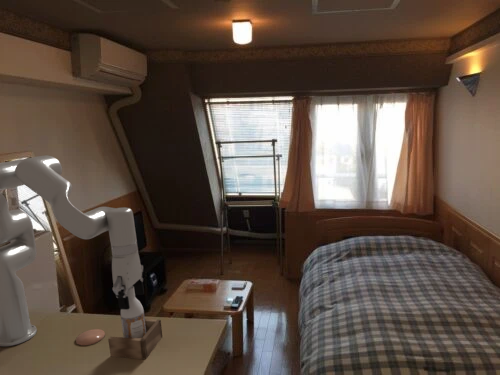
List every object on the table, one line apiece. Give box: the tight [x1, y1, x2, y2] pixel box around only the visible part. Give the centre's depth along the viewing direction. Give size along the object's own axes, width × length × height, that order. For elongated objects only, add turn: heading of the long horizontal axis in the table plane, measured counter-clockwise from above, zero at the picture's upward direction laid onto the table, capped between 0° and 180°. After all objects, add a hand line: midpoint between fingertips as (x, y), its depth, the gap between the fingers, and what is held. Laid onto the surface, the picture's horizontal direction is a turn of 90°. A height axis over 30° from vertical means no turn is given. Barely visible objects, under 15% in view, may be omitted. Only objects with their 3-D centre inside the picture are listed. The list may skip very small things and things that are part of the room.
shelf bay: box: [107, 318, 163, 360], centre depth 131 cm, size 12×12×6 cm
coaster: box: [75, 328, 106, 346], centre depth 138 cm, size 9×9×1 cm
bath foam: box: [120, 285, 146, 338], centre depth 130 cm, size 7×7×20 cm
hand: (132, 301), depth 129 cm, fingers open, 9 cm apart
